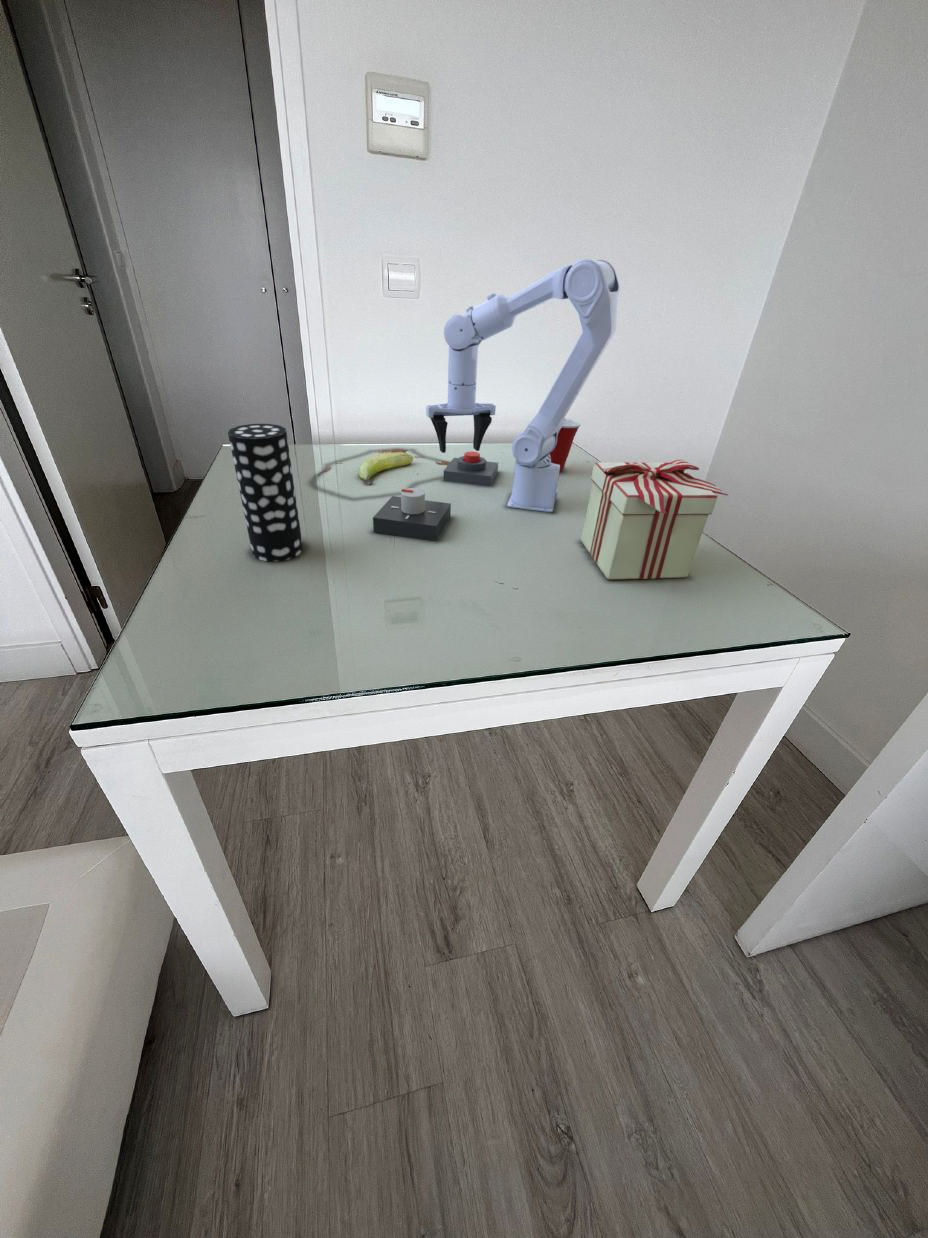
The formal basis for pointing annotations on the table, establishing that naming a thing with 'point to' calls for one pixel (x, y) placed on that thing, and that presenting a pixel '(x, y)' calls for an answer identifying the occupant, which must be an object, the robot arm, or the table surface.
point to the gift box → (646, 518)
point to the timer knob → (412, 501)
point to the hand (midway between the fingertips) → (459, 450)
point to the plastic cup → (564, 442)
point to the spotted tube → (267, 490)
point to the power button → (472, 457)
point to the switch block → (471, 472)
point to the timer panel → (412, 520)
